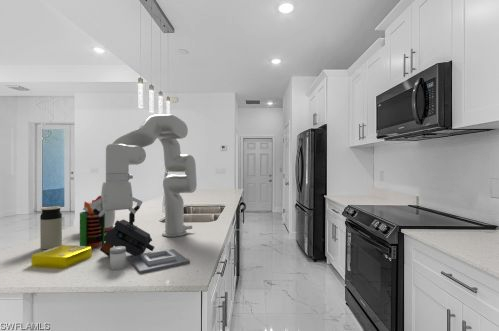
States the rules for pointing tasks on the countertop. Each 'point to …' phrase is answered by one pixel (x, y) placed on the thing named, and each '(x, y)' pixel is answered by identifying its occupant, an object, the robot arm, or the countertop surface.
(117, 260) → the white domed cylinder
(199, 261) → the countertop surface
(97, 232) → the motor
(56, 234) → the travel mug
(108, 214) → the citrus juicer
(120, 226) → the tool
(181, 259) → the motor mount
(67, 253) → the element tile
